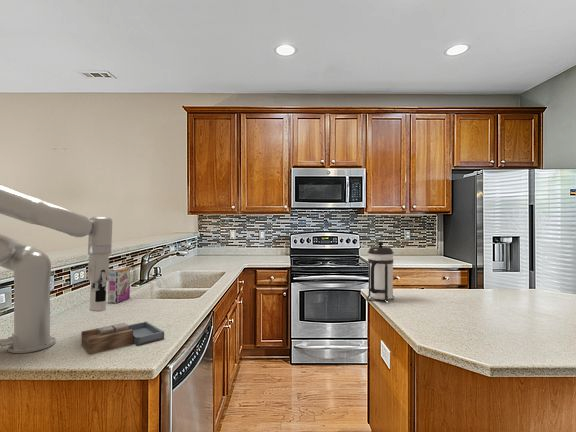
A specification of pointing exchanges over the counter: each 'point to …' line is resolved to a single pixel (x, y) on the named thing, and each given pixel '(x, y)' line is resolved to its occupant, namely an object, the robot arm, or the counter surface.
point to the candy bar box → (119, 284)
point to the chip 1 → (105, 330)
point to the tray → (145, 333)
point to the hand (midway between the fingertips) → (97, 299)
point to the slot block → (105, 340)
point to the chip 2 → (120, 327)
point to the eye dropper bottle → (93, 304)
